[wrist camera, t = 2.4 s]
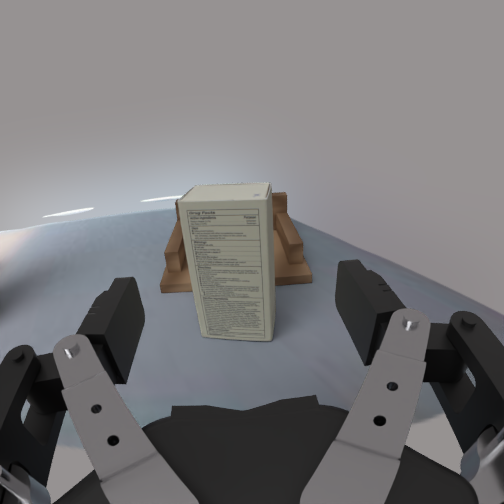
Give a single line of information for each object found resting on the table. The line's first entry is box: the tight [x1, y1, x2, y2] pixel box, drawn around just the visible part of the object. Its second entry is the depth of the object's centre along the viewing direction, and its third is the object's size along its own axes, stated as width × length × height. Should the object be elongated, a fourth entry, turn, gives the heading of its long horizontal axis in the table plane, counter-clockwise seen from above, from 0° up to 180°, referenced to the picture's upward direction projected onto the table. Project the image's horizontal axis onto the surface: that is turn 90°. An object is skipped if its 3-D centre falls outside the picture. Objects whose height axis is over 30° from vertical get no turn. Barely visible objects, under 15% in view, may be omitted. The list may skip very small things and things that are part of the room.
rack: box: [160, 192, 312, 293], centre depth 37 cm, size 16×14×6 cm
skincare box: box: [177, 182, 276, 341], centre depth 24 cm, size 6×4×12 cm
